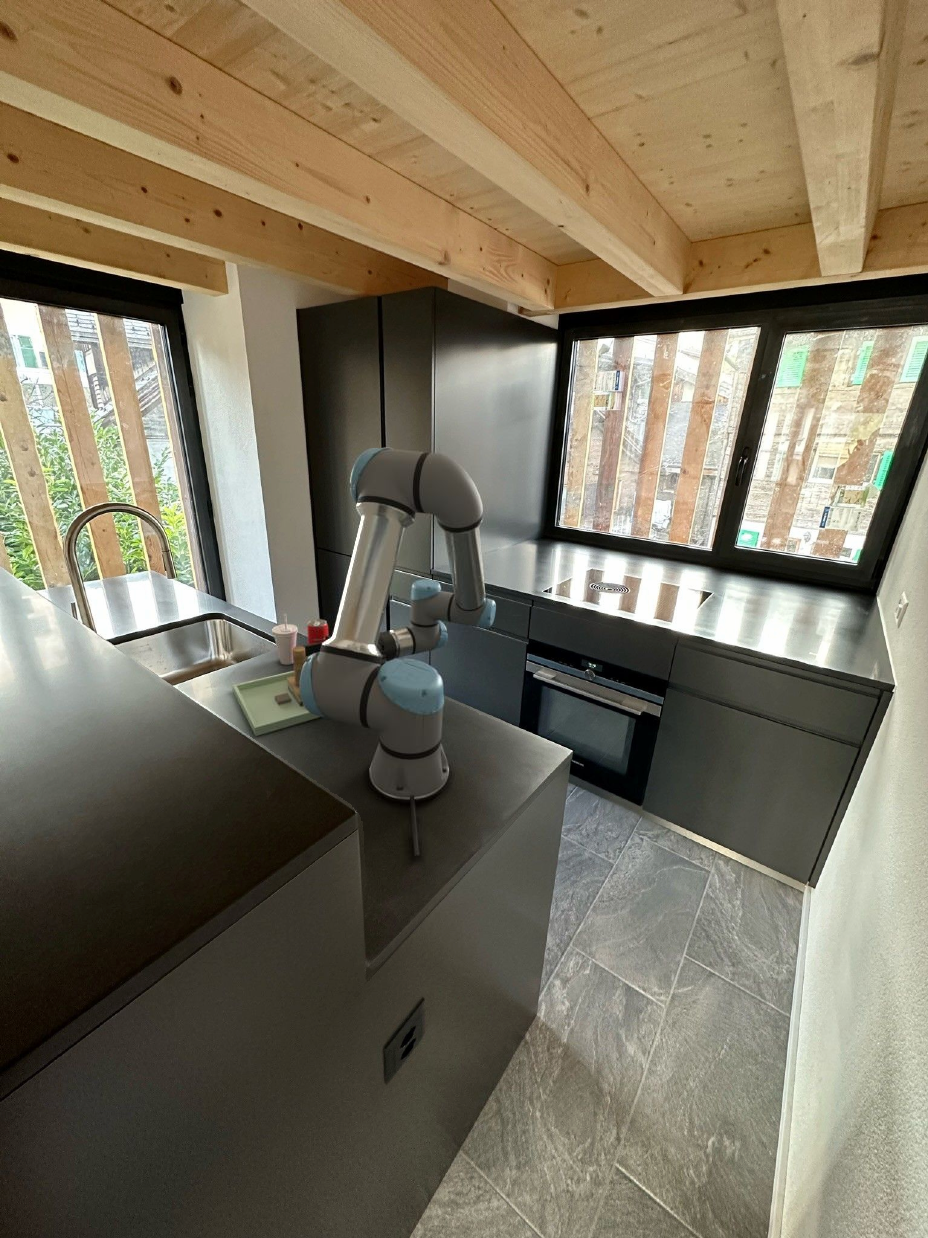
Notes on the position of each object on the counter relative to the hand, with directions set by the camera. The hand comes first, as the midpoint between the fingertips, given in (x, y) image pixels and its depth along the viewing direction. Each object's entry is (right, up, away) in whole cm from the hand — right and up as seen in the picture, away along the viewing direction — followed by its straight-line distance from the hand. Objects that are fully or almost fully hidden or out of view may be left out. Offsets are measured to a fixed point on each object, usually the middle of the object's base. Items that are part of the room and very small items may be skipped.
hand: (310, 663), depth 121 cm
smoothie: (-11, -1, +17) cm, 21 cm away
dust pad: (-6, -9, -1) cm, 11 cm away
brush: (-2, -8, +2) cm, 8 cm away
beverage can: (-3, -2, +18) cm, 18 cm away
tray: (-7, -9, -1) cm, 11 cm away
